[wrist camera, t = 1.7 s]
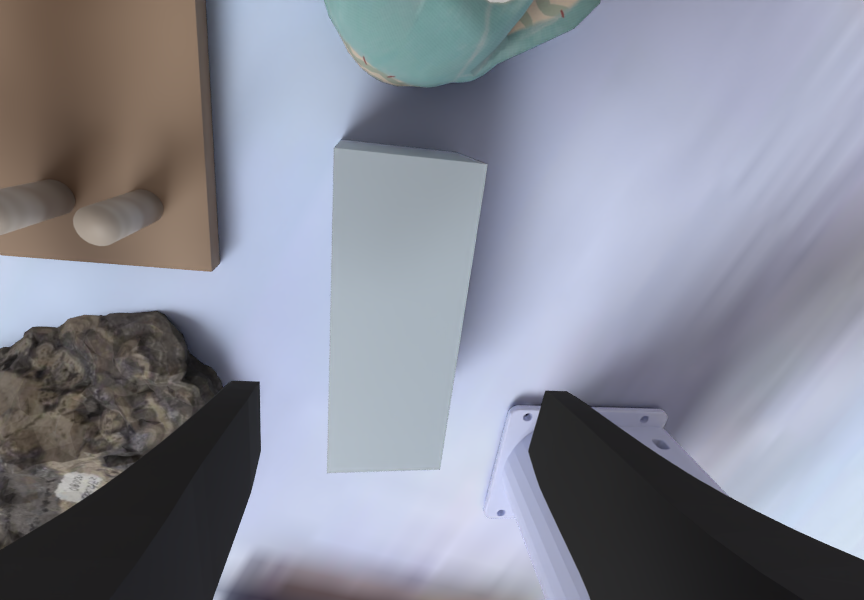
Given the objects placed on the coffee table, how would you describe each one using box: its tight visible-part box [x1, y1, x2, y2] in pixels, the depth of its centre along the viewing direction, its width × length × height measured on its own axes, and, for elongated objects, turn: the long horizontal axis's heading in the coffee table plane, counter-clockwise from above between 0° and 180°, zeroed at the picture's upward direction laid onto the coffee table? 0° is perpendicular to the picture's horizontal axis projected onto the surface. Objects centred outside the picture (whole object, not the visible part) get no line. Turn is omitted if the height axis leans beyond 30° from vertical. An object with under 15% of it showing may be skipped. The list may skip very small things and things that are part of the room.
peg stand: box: [0, 0, 220, 272], centre depth 12 cm, size 7×13×4 cm, turn 172°
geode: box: [0, 311, 223, 550], centre depth 18 cm, size 19×4×15 cm
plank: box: [327, 139, 488, 473], centre depth 17 cm, size 4×12×5 cm, turn 173°
